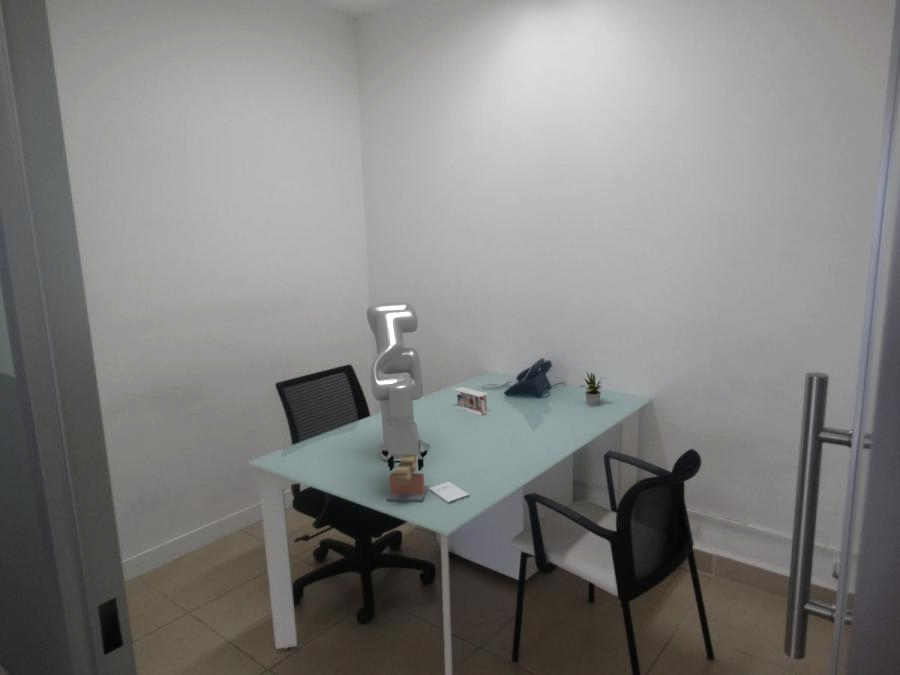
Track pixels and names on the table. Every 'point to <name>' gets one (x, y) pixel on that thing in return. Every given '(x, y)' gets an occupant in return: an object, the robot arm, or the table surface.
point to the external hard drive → (449, 492)
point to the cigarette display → (472, 400)
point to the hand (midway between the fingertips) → (406, 469)
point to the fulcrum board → (408, 496)
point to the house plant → (592, 391)
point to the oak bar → (405, 469)
